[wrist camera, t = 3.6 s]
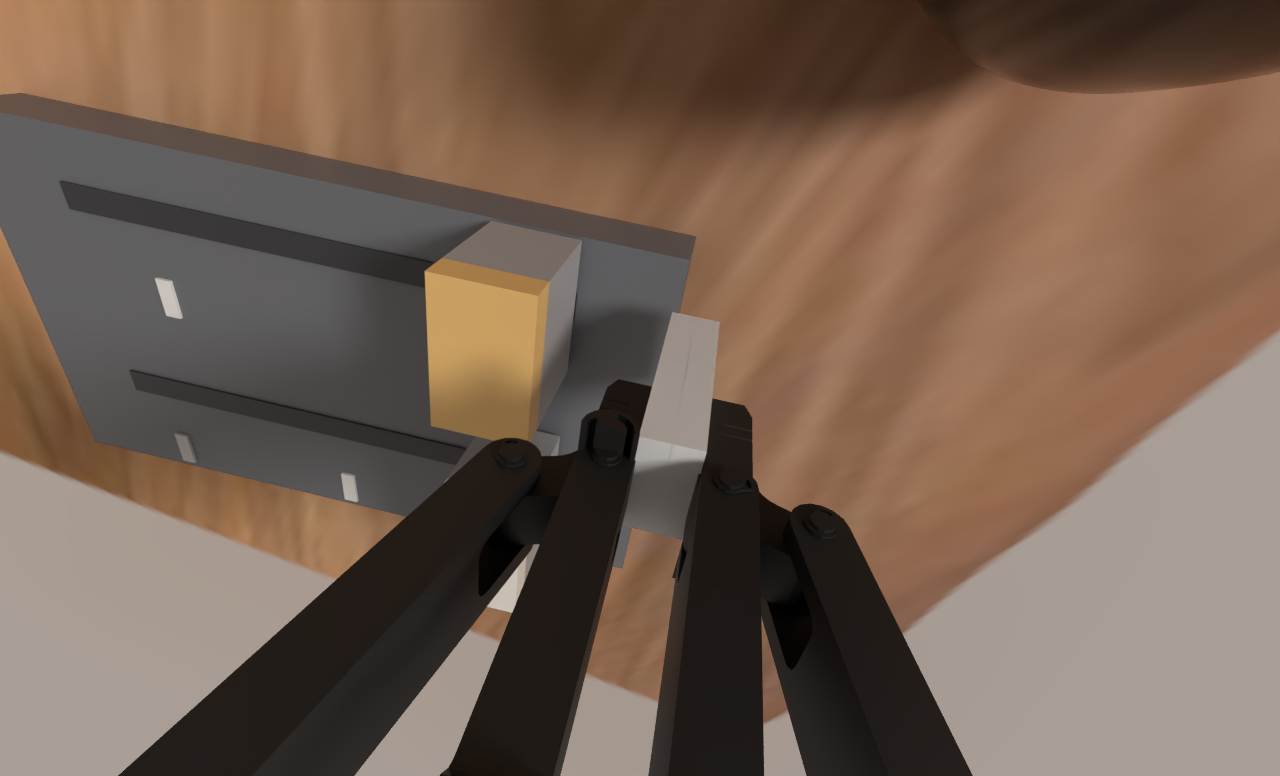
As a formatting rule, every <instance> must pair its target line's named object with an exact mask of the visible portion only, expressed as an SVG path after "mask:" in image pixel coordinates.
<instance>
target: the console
mask: <svg viewBox="0 0 1280 776" xmlns="http://www.w3.org/2000/svg"><path fill="white" fill-rule="evenodd" d="M491 221H494V222H499V223H504V224H508V225H513V226H518V227H522V228H527V229H532V230H536V231H541V232H546V233H550V234H555V235H559V236H564V237H569V238H573V239H578V240H582V245H581V254H580V263H579V271H578V280H577V289H576V298H575V307H574V316H573V325H572V334H571V343H570V352H569V361H568V370H567V373H566V375H565V377H564V379H563V381H562V383H561V385H560V387H559V389H558V391H557V392H556V394H555V396H554V398H553V400H552V402H551V404H550V406H549V408H548V409H547V411H546V413H545V415H544V417H543V419H542V421H541V423H540V425H539V427H538V428H537V430H536V431H540V432H544V433H548V434H553V435H557V436H560V441H559V450H558V456H559V455H566V454H570V453H572V452H574V451H577V450H578V444H579V436H580V428H581V420H582V419H583V418H584V417H585V416H586V414H588V413H591V412H593V411H595V410H598V409H599V407H600V404H601V402H602V400H603V397H604V394H605V392H606V389H607V387H608V386H610V385H611V384H612V383H614V382H615V381H616V380H618V379H620V380H625V381H629V382H634V383H638V384H643V385H648V386H653V382H654V378H655V375H656V371H657V367H658V363H659V360H660V356H661V352H662V349H663V345H664V341H665V337H666V334H667V330H668V326H669V323H670V319H671V315H672V312H675V313H679V312H680V307H681V303H682V298H683V294H684V289H685V284H686V280H687V275H688V271H689V266H690V262H691V257H692V253H693V248H694V244H695V239H696V237H695V236H690V235H685V234H681V233H676V232H671V231H666V230H662V229H657V228H652V227H648V226H643V225H638V224H634V223H629V222H624V221H620V220H615V219H610V218H605V217H601V216H596V215H591V214H587V213H582V212H577V211H573V210H568V209H563V208H558V207H554V206H549V205H544V204H540V203H535V202H530V201H526V200H521V199H516V198H512V197H507V196H502V195H497V194H493V193H488V192H483V191H479V190H474V189H469V188H465V187H460V186H455V185H451V184H446V183H441V182H436V181H432V180H427V179H422V178H418V177H413V176H408V175H404V174H399V173H394V172H389V171H385V170H380V169H375V168H371V167H366V166H361V165H357V164H352V163H347V162H343V161H338V160H333V159H328V158H324V157H319V156H314V155H310V154H305V153H300V152H296V151H291V150H286V149H281V148H277V147H272V146H267V145H263V144H258V143H253V142H249V141H244V140H239V139H235V138H230V137H225V136H220V135H216V134H211V133H206V132H202V131H197V130H192V129H188V128H183V127H178V126H174V125H169V124H164V123H159V122H155V121H150V120H145V119H141V118H136V117H131V116H127V115H122V114H117V113H112V112H108V111H103V110H98V109H94V108H89V107H84V106H80V105H75V104H70V103H66V102H61V101H56V100H51V99H47V98H42V97H37V96H33V95H28V94H23V93H17V94H5V95H0V227H1V229H2V231H3V234H4V236H5V238H6V240H7V243H8V245H9V247H10V249H11V252H12V254H13V256H14V259H15V261H16V263H17V265H18V268H19V270H20V272H21V274H22V277H23V279H24V281H25V283H26V286H27V288H28V290H29V292H30V295H31V297H32V299H33V302H34V304H35V306H36V308H37V311H38V313H39V315H40V317H41V320H42V322H43V324H44V326H45V329H46V331H47V333H48V336H49V338H50V340H51V342H52V345H53V347H54V349H55V351H56V354H57V356H58V358H59V360H60V363H61V365H62V367H63V370H64V372H65V374H66V376H67V379H68V381H69V383H70V385H71V388H72V390H73V392H74V394H75V397H76V399H77V401H78V403H79V406H80V408H81V410H82V413H83V415H84V417H85V419H86V422H87V424H88V426H89V428H90V431H91V433H92V435H93V437H94V440H95V441H96V442H100V443H104V444H108V445H112V446H116V447H120V448H125V449H129V450H133V451H137V452H141V453H145V454H149V455H154V456H158V457H162V458H166V459H170V460H174V461H179V462H183V463H187V464H191V465H195V466H199V467H203V468H208V469H212V470H216V471H220V472H224V473H228V474H232V475H237V476H241V477H245V478H249V479H253V480H257V481H261V482H266V483H270V484H274V485H278V486H282V487H286V488H290V489H295V490H299V491H303V492H307V493H311V494H315V495H320V496H324V497H328V498H332V499H336V500H340V501H344V502H349V503H353V504H357V505H361V506H365V507H369V508H373V509H378V510H382V511H386V512H390V513H394V514H398V515H402V516H408V515H409V514H410V513H411V512H413V511H414V510H415V509H416V508H417V507H418V506H419V505H420V504H421V503H423V502H424V501H425V500H426V499H427V498H428V497H429V496H430V495H431V494H433V493H434V492H435V491H436V490H437V489H438V488H439V487H440V486H442V485H443V484H444V482H445V481H446V479H447V478H448V476H449V475H450V473H451V472H452V470H453V469H454V467H455V466H456V464H457V463H458V461H459V460H460V458H461V457H462V455H463V454H464V452H465V451H466V449H467V448H468V446H469V445H470V443H471V442H472V440H473V439H474V437H475V436H472V435H468V434H463V433H459V432H455V431H451V430H446V429H442V428H438V427H433V426H431V415H430V391H429V366H428V341H427V317H426V292H425V270H427V269H428V268H429V267H431V266H432V265H433V264H435V263H436V262H437V261H439V260H440V259H441V258H443V257H444V256H445V255H447V254H448V253H449V252H451V251H452V250H453V249H455V248H456V247H457V246H459V245H460V244H461V243H463V242H464V241H465V240H467V239H468V238H469V237H471V236H472V235H473V234H475V233H476V232H477V231H479V230H480V229H481V228H483V227H484V226H485V225H487V224H488V223H489V222H491ZM631 529H632V527H628V526H623V525H622V527H621V532H620V537H619V542H618V546H617V550H616V554H615V558H614V562H613V566H614V567H618V568H623V563H624V559H625V555H626V550H627V546H628V542H629V538H630V533H631Z"/></svg>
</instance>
